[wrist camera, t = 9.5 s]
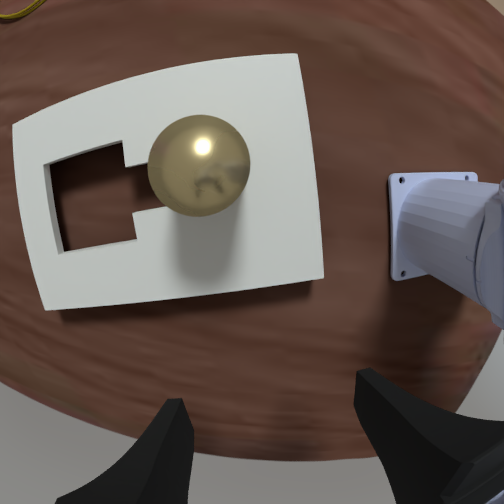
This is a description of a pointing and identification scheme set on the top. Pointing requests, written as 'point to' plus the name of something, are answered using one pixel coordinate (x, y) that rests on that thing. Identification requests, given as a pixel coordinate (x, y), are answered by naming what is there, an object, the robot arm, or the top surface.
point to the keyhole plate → (164, 219)
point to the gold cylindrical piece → (198, 165)
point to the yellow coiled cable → (23, 11)
